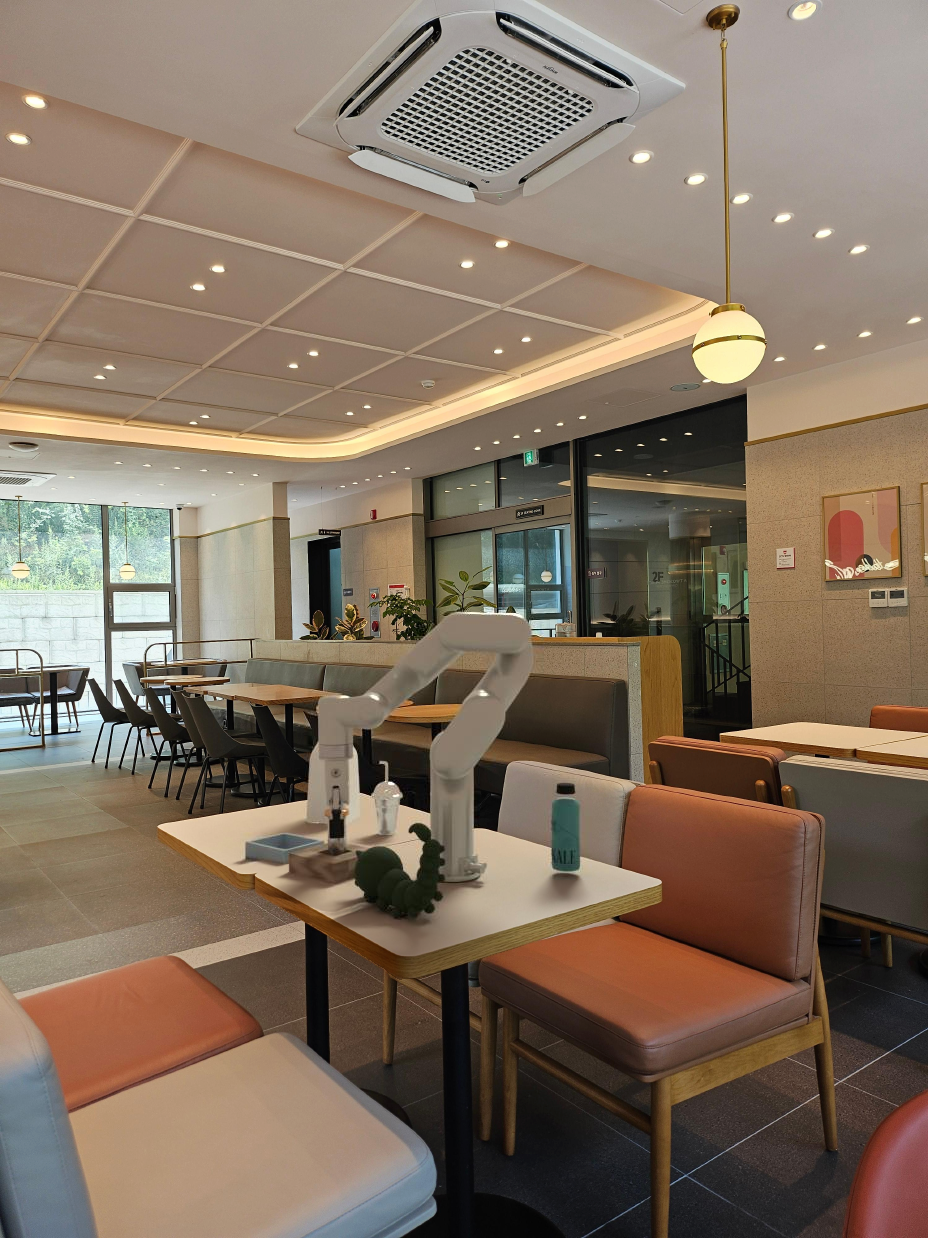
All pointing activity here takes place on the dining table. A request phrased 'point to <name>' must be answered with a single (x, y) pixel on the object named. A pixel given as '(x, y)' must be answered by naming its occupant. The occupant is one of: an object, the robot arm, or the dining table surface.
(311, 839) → the tray
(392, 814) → the cup with straw
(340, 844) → the copper capped shaker
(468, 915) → the dining table surface
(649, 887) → the dining table surface
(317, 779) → the milk
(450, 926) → the dining table surface
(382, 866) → the toy figurine
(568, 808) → the beverage bottle
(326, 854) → the square wooden block
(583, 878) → the dining table surface
